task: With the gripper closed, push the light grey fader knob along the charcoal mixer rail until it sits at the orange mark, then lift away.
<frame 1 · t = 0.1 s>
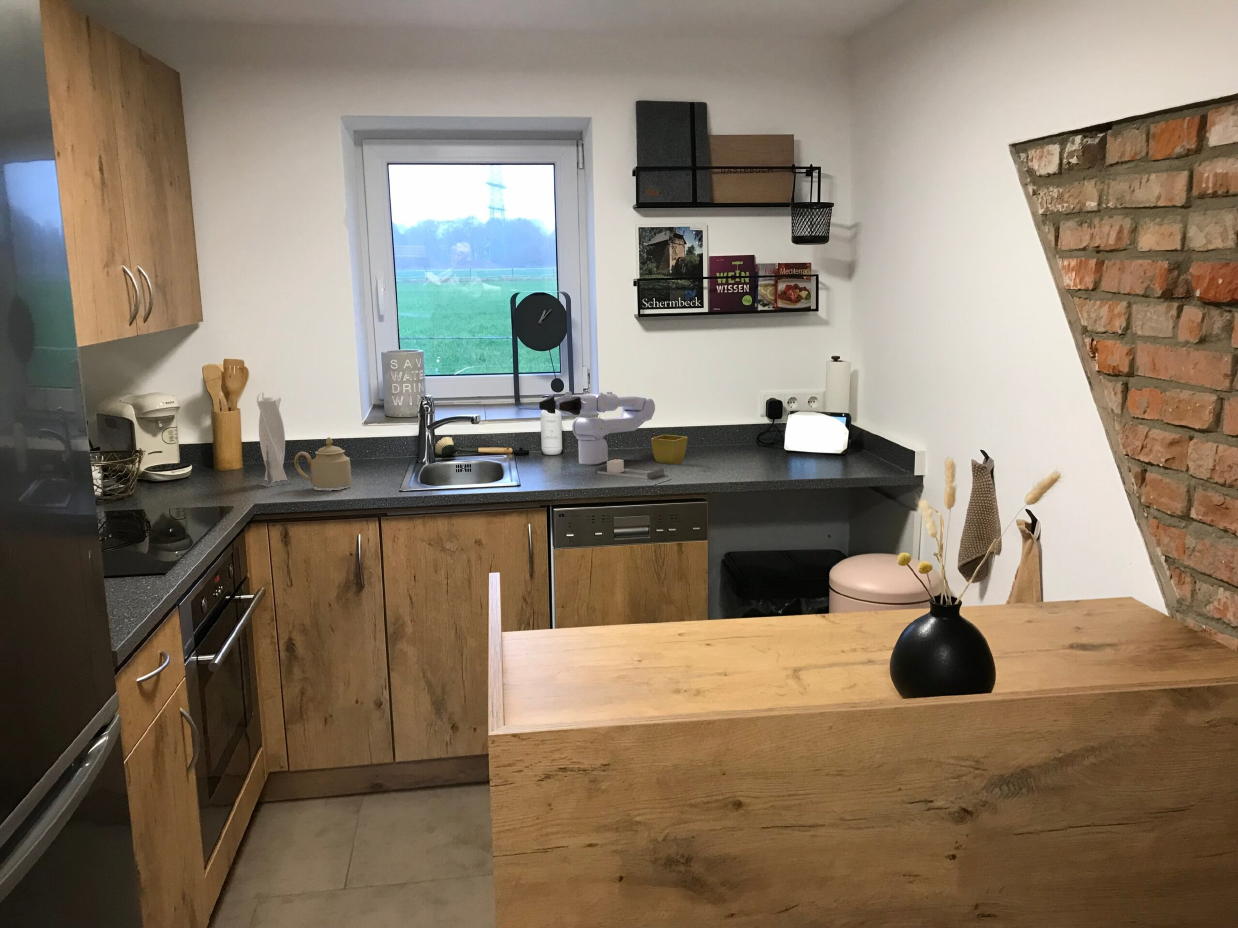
hand: (550, 405, 288), 22 cm above the countertop, tool horizontal, fingers open, 7 cm apart
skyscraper: (275, 485, 292), on the countertop
sugar bowl: (325, 489, 283), on the countertop
fader console: (629, 478, 287), on the countertop
fader knob: (615, 466, 289), point 3 cm above the countertop, slide at -5.0 cm
flower pot: (669, 465, 307), on the countertop
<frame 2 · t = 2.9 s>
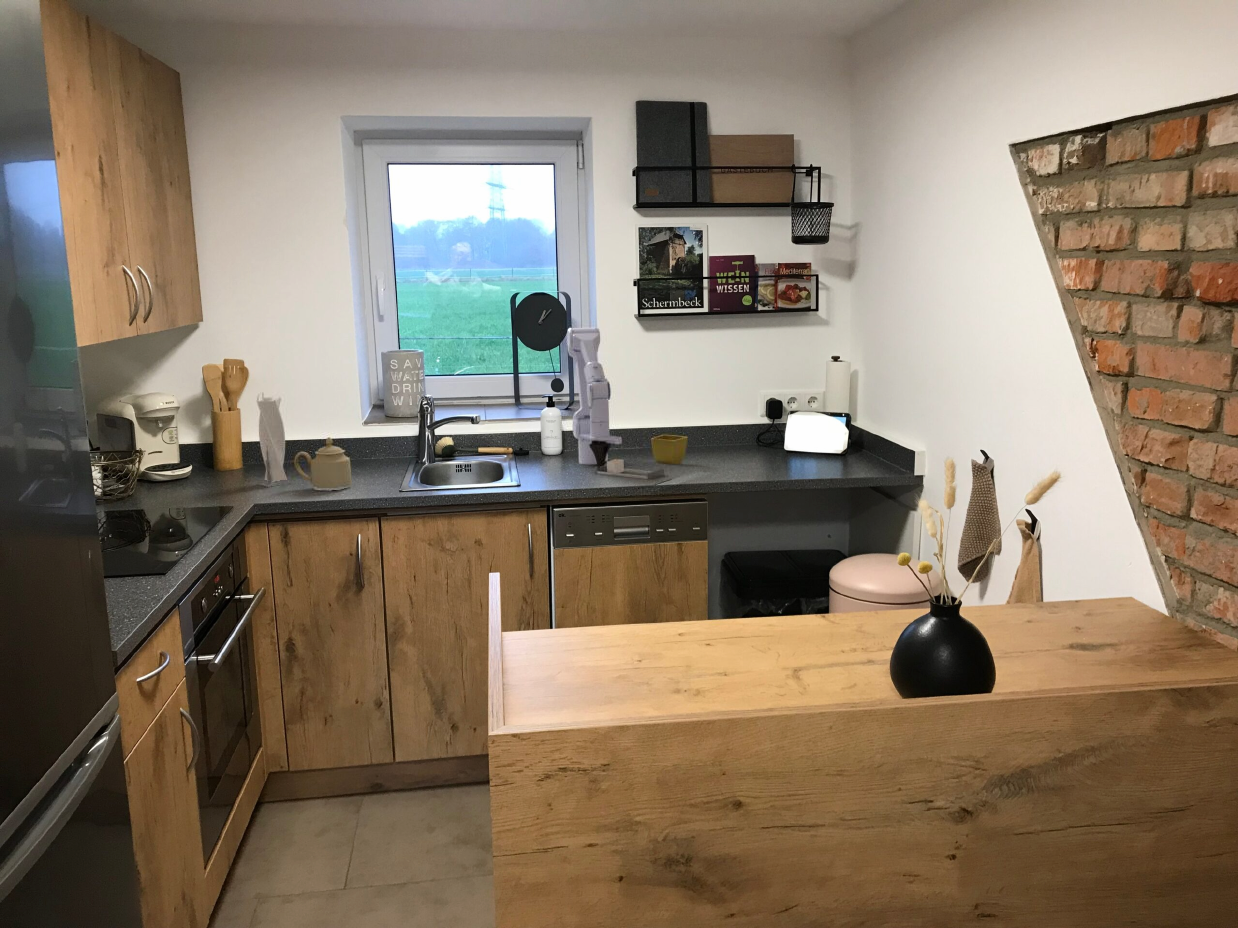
hand: (601, 466, 292), 3 cm above the countertop, tool pointing down, fingers closed
nothing on the countertop moved.
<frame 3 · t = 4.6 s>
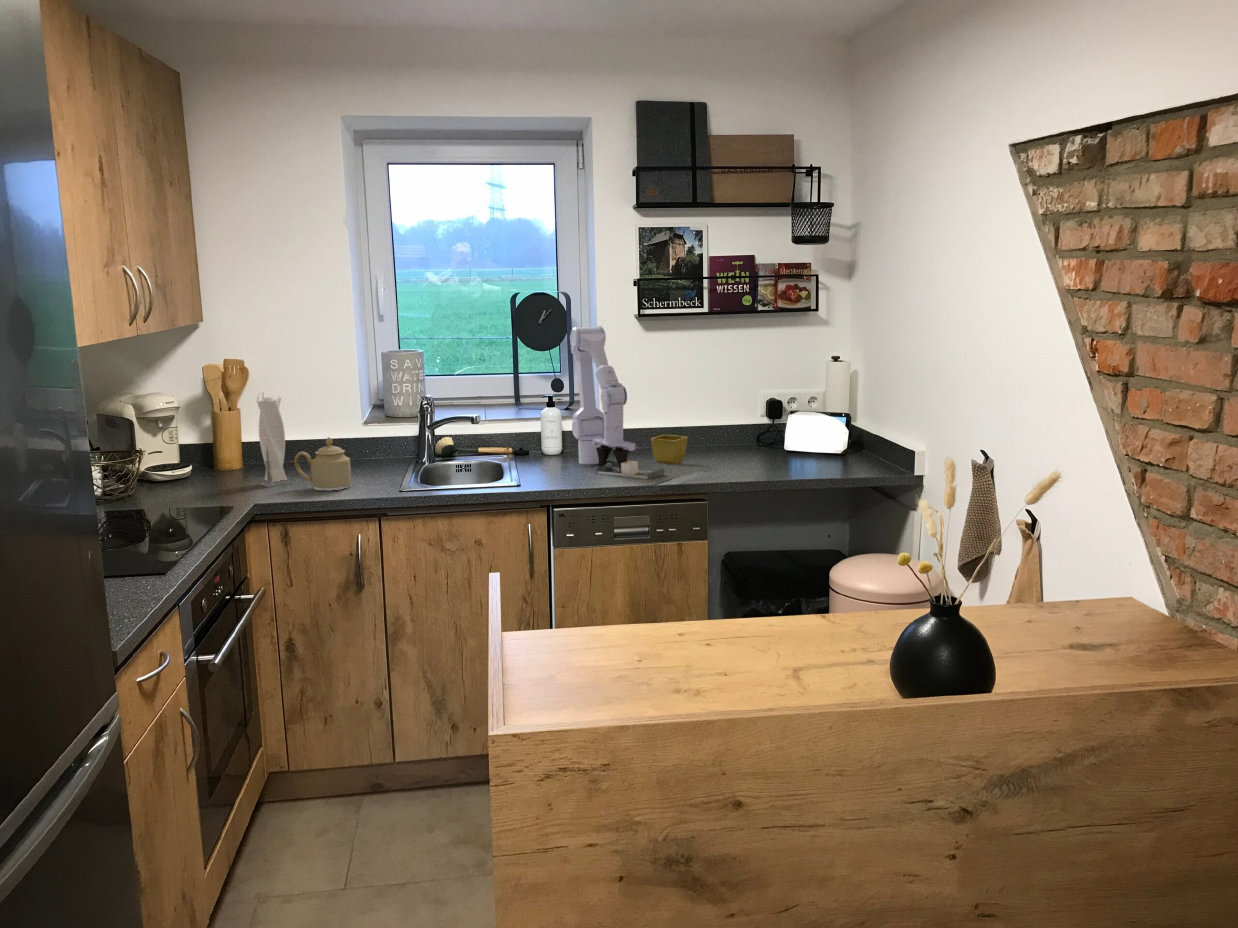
hand: (613, 471, 290), 2 cm above the countertop, tool pointing down, fingers closed
fader knob: (629, 467, 286), point 3 cm above the countertop, slide at 0.2 cm
everything else where it was.
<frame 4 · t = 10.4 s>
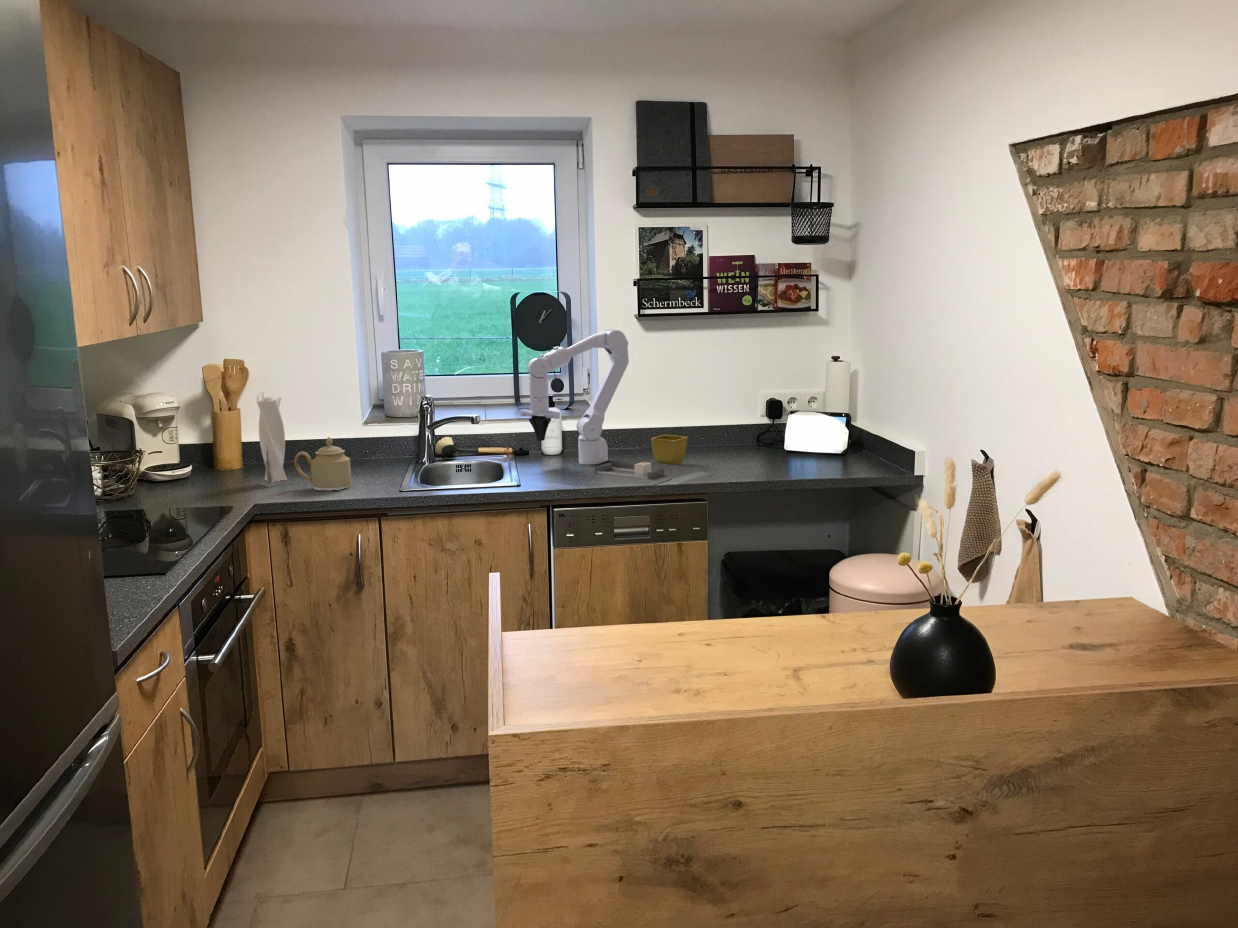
hand: (540, 440, 302), 9 cm above the countertop, tool pointing down, fingers closed
fader knob: (642, 469, 284), point 3 cm above the countertop, slide at 5.0 cm
everything else where it was.
at the end: fader knob slide at 5.0 cm; fader knob touching nothing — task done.
